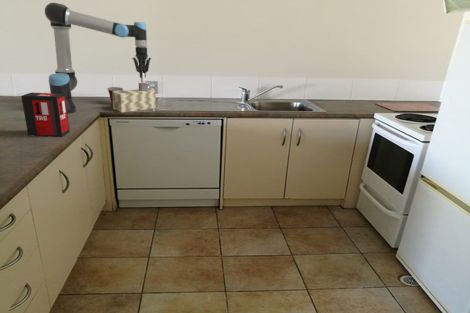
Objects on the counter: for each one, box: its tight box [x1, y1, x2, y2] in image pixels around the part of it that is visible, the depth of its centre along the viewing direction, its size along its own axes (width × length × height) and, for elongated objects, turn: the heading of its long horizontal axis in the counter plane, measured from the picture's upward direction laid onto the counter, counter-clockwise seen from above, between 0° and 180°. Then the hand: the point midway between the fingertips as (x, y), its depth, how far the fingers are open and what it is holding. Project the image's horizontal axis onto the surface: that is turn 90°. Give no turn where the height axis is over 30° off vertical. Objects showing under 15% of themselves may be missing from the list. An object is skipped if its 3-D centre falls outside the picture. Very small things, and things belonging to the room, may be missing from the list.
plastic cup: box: [106, 86, 124, 106], centre depth 240 cm, size 11×11×12 cm
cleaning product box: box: [20, 92, 71, 138], centre depth 167 cm, size 16×9×20 cm, turn 92°
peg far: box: [138, 82, 149, 91], centre depth 234 cm, size 4×4×9 cm
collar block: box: [112, 88, 157, 113], centre depth 231 cm, size 26×12×12 cm, turn 134°
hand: (143, 82), depth 232 cm, fingers closed
